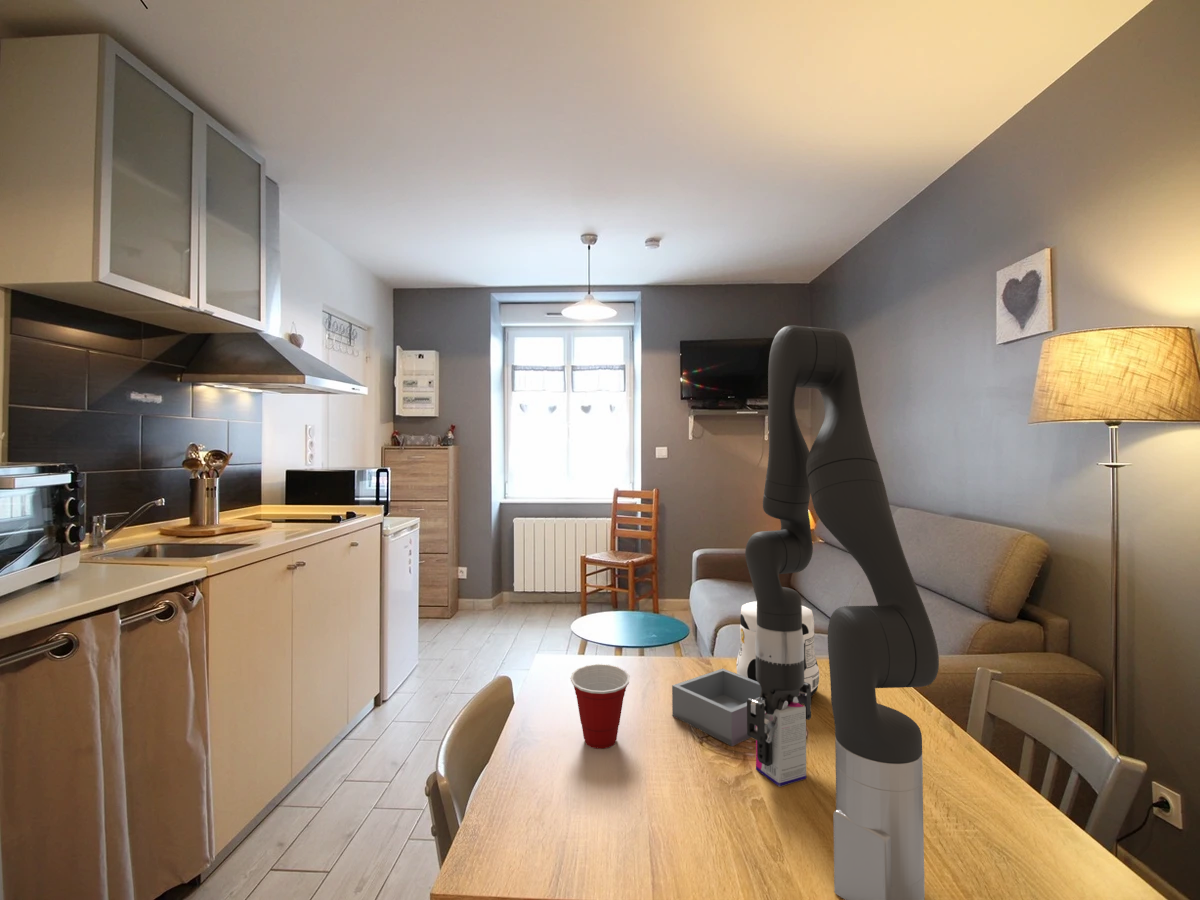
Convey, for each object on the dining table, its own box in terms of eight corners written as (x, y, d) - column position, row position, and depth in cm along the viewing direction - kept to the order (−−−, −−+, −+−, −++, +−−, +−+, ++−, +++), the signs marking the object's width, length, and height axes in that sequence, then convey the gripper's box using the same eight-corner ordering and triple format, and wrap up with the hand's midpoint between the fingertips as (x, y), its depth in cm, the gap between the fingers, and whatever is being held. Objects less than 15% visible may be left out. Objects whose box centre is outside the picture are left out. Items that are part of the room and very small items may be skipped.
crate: (731, 746, 99) (731, 712, 99) (672, 715, 111) (672, 685, 111) (782, 722, 108) (782, 691, 108) (722, 696, 120) (722, 668, 120)
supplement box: (808, 778, 89) (807, 706, 89) (779, 787, 86) (778, 713, 87) (782, 761, 94) (781, 692, 94) (754, 769, 92) (753, 698, 92)
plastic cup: (572, 759, 95) (571, 688, 95) (569, 729, 106) (569, 665, 106) (635, 755, 96) (634, 685, 96) (625, 726, 107) (625, 663, 107)
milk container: (729, 676, 131) (729, 599, 132) (804, 676, 131) (803, 599, 131) (746, 708, 114) (745, 620, 115) (832, 709, 113) (830, 620, 114)
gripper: (771, 670, 83) (773, 781, 83) (825, 650, 92) (826, 751, 92) (732, 656, 89) (733, 760, 89) (785, 639, 98) (787, 733, 98)
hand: (780, 755), depth 90 cm, fingers open, 7 cm apart
